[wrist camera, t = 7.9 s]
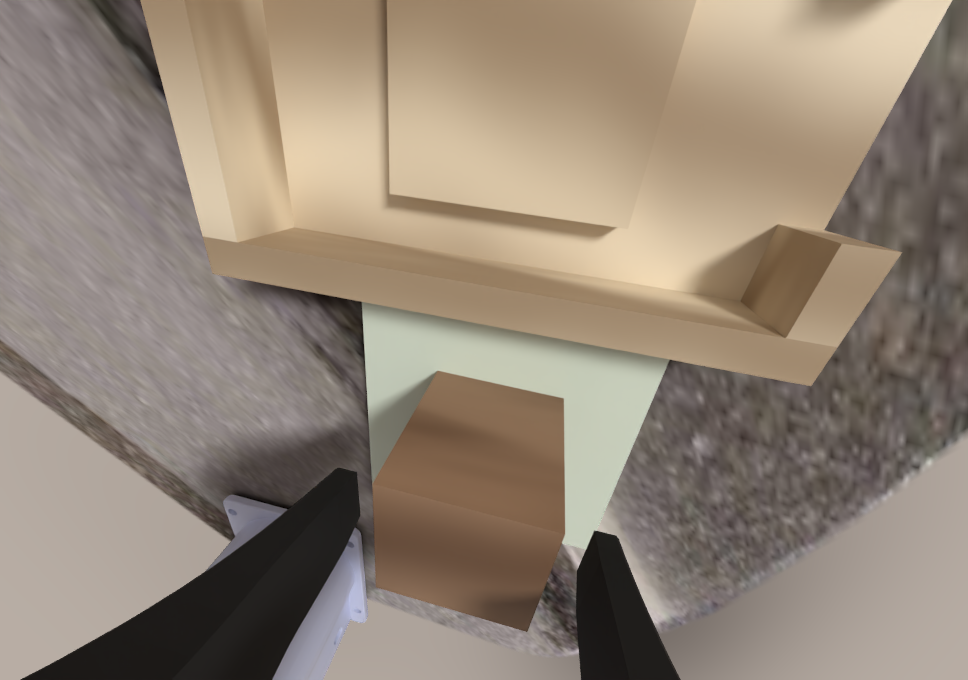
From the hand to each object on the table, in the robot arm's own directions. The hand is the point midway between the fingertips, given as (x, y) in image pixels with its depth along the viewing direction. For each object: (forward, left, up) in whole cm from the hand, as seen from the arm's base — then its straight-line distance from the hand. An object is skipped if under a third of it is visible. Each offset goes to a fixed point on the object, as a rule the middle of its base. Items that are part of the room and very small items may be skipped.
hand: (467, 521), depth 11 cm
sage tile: (0, 0, -4) cm, 4 cm away
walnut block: (+1, 0, -4) cm, 4 cm away
